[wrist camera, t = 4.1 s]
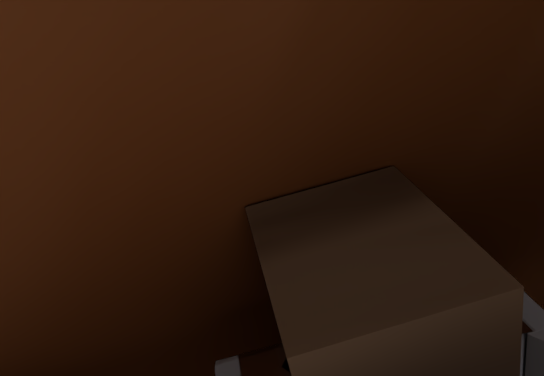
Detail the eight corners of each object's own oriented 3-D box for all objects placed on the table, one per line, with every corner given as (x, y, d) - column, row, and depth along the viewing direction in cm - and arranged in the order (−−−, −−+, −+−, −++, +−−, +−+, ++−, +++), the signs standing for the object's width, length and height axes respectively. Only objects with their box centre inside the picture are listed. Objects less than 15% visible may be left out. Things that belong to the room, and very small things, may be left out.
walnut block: (244, 206, 10) (286, 358, 6) (393, 165, 11) (523, 287, 7) (294, 389, 13) (346, 574, 9) (412, 353, 13) (512, 519, 9)
